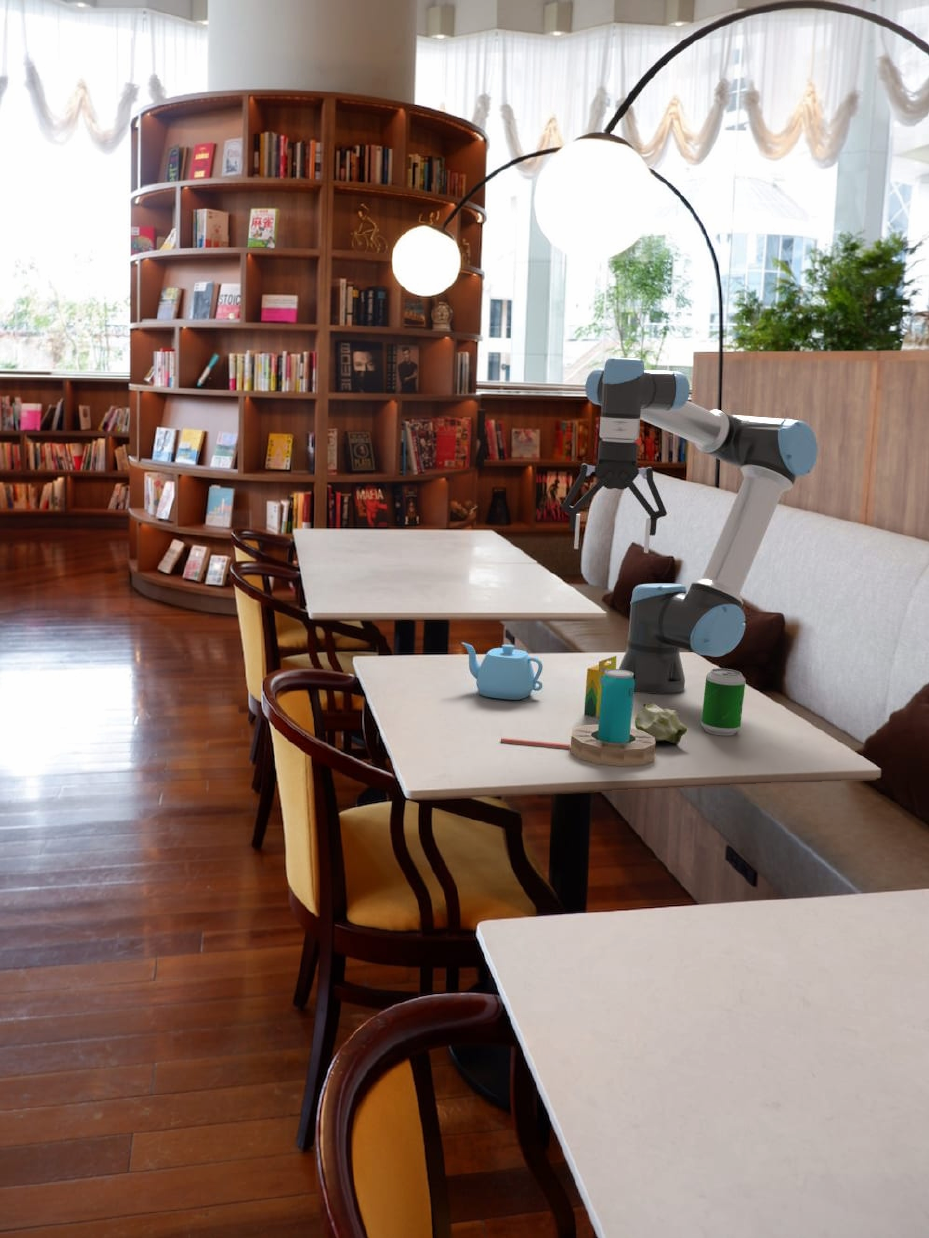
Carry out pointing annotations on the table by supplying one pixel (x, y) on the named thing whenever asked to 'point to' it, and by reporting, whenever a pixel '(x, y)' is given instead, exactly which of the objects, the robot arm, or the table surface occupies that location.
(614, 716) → the beverage can
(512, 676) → the teapot
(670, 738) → the fruit
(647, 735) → the tan flat ring
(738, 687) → the soda can
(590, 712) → the crayon box
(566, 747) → the stick
